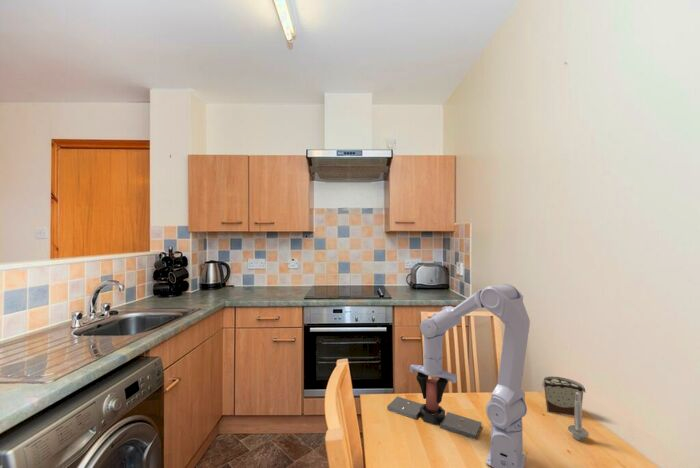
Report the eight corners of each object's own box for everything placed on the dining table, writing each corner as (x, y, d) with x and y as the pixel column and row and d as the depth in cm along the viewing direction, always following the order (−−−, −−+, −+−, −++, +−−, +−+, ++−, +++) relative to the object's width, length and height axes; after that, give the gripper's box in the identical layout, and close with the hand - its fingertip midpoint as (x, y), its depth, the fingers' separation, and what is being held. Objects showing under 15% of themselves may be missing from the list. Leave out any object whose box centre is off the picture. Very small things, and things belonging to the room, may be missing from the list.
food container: (577, 408, 105) (577, 378, 106) (586, 417, 100) (585, 386, 100) (536, 402, 109) (536, 373, 109) (542, 411, 103) (542, 381, 103)
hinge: (475, 439, 87) (475, 430, 87) (387, 409, 102) (387, 401, 102) (481, 426, 94) (481, 417, 94) (397, 399, 109) (397, 392, 109)
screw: (569, 440, 88) (566, 431, 92) (590, 445, 85) (586, 436, 90) (569, 393, 88) (566, 386, 92) (590, 397, 86) (586, 390, 90)
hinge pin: (436, 412, 95) (436, 385, 96) (423, 408, 97) (424, 382, 98) (440, 406, 99) (440, 381, 99) (428, 403, 101) (428, 378, 101)
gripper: (459, 357, 98) (459, 401, 97) (415, 348, 106) (415, 388, 105) (453, 364, 92) (453, 410, 92) (407, 354, 100) (407, 396, 100)
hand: (432, 399), depth 98 cm, fingers closed on hinge pin, 4 cm apart
